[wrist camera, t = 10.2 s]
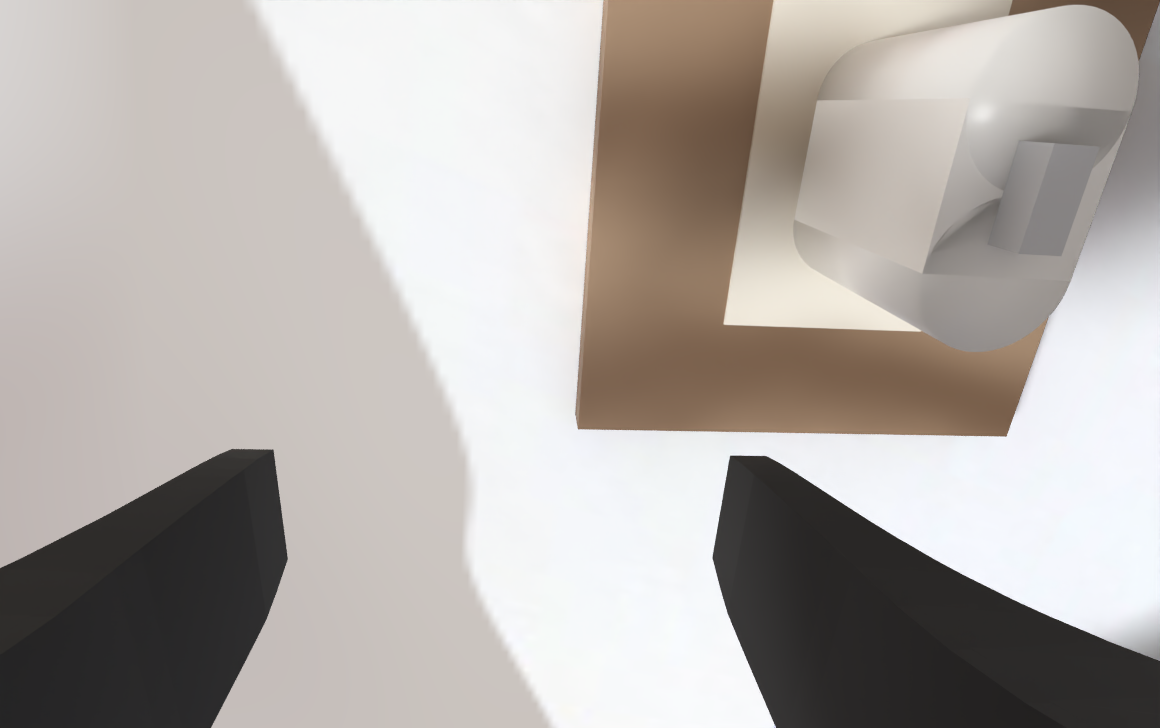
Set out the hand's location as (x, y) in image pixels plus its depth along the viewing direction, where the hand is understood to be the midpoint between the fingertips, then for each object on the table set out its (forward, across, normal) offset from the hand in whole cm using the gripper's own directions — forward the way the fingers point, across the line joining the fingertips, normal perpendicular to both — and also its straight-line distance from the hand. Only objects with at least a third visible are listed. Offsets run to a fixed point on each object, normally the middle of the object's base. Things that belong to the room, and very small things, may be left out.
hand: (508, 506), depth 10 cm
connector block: (+8, -9, -5) cm, 13 cm away
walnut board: (+9, -9, -5) cm, 14 cm away
